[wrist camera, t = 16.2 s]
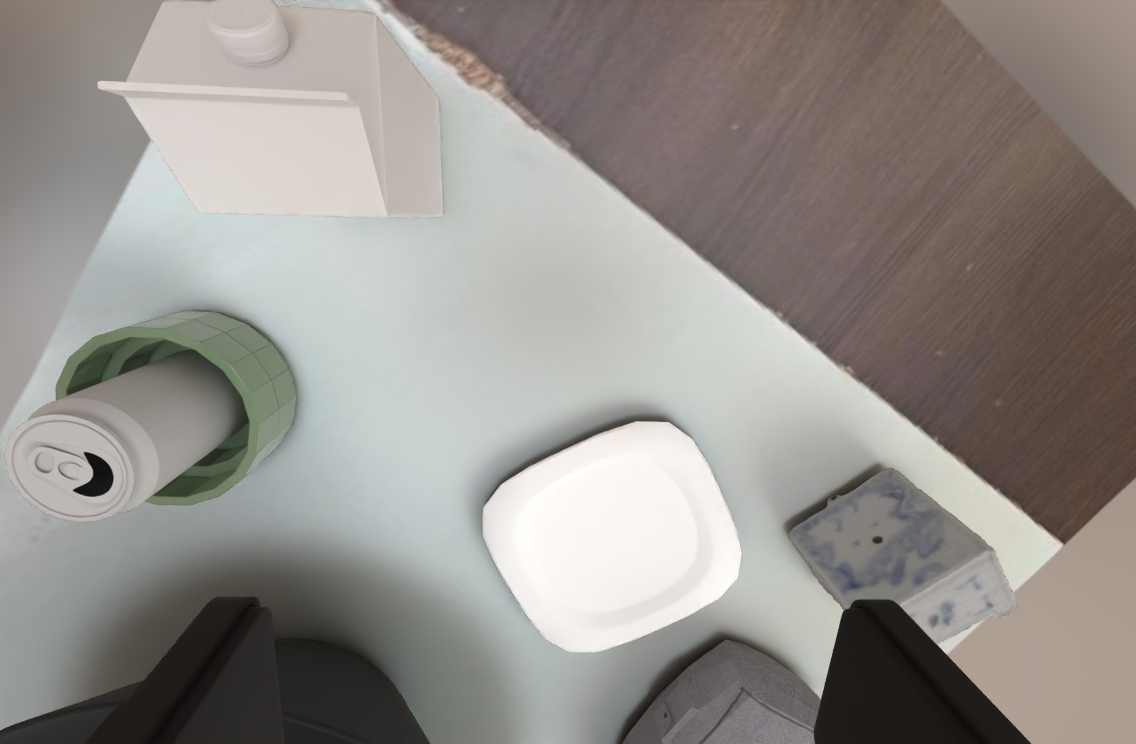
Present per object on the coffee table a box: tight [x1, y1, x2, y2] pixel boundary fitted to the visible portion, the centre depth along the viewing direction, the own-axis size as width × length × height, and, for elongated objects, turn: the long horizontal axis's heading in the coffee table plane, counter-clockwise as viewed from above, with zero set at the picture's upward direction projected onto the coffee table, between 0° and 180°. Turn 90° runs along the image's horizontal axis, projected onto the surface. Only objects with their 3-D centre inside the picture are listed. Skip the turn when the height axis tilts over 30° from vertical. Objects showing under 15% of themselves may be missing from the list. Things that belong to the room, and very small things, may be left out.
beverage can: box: [5, 349, 249, 522], centre depth 31 cm, size 6×6×12 cm
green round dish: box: [56, 311, 296, 505], centre depth 35 cm, size 11×11×6 cm
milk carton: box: [97, 0, 443, 218], centre depth 25 cm, size 7×7×19 cm
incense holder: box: [789, 468, 1018, 644], centre depth 40 cm, size 10×8×10 cm
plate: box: [483, 421, 742, 652], centre depth 42 cm, size 18×18×2 cm
